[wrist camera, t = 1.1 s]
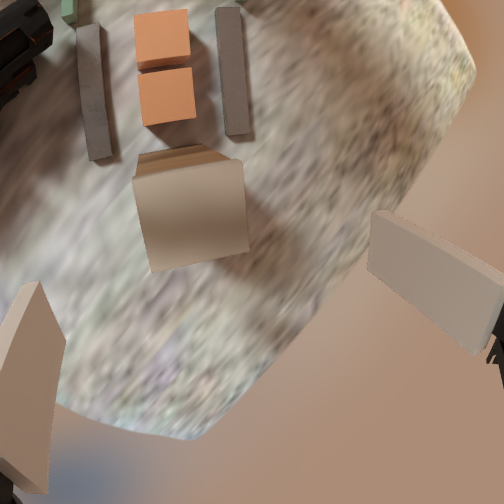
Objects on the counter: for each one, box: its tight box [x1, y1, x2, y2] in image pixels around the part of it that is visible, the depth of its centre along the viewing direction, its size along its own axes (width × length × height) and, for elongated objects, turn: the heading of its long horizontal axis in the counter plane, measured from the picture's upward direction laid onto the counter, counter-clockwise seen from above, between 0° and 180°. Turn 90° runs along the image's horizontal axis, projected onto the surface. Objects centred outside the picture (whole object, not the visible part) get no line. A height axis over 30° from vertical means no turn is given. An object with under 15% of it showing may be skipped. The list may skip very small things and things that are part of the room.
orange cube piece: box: [134, 9, 191, 70], centre depth 20 cm, size 4×4×4 cm
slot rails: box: [76, 7, 250, 161], centre depth 23 cm, size 12×14×1 cm
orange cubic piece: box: [138, 67, 196, 126], centre depth 22 cm, size 4×4×4 cm
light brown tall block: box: [132, 144, 250, 273], centre depth 22 cm, size 5×6×12 cm
